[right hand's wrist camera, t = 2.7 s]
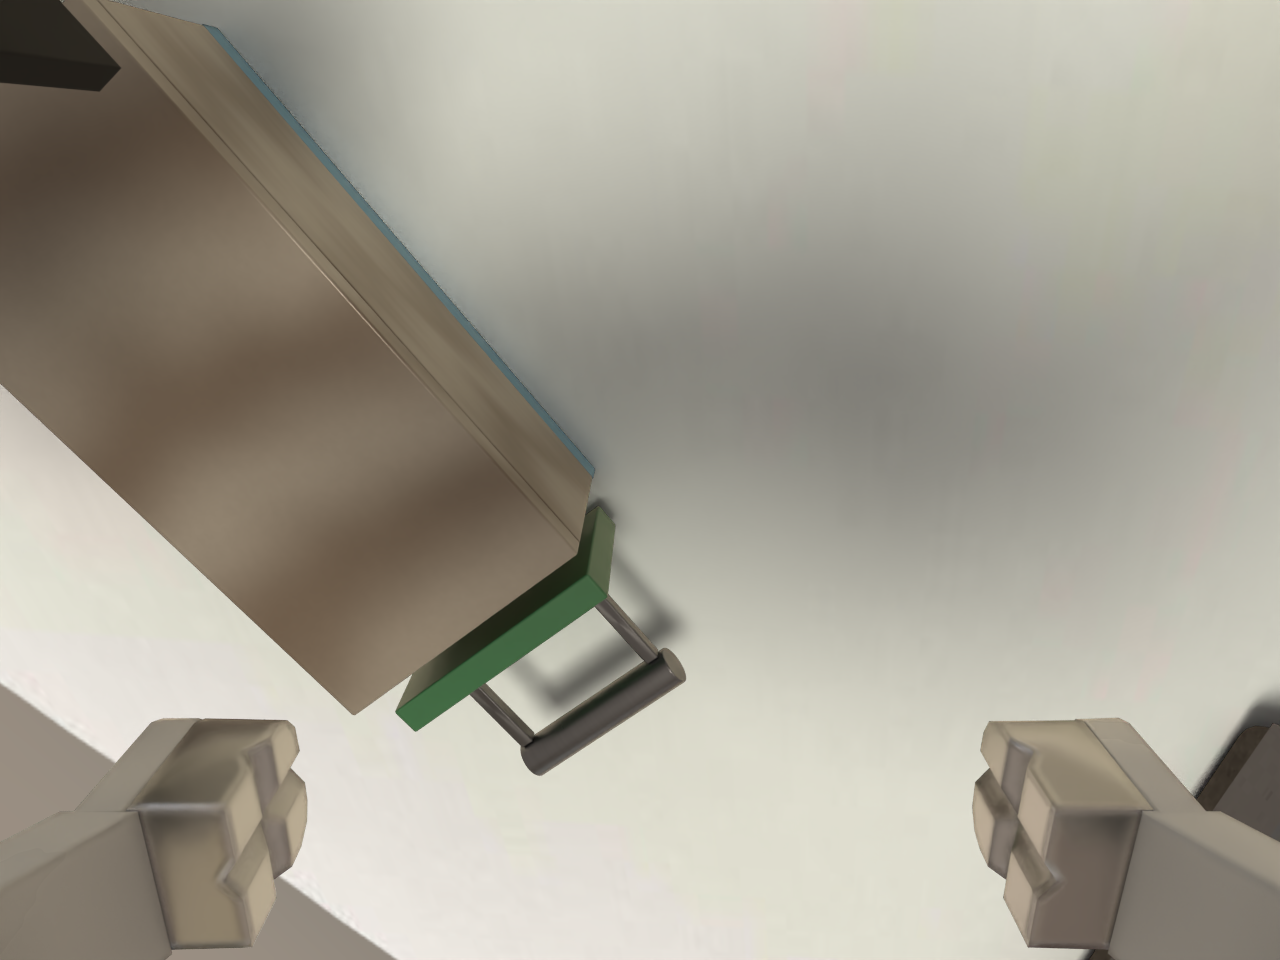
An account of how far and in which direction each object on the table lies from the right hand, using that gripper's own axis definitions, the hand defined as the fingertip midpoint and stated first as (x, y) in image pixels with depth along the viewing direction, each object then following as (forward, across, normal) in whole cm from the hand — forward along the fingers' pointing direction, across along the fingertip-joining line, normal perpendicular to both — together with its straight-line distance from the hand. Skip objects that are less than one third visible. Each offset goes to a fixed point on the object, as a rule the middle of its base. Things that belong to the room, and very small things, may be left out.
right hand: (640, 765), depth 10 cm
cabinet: (+27, +13, +1) cm, 30 cm away
